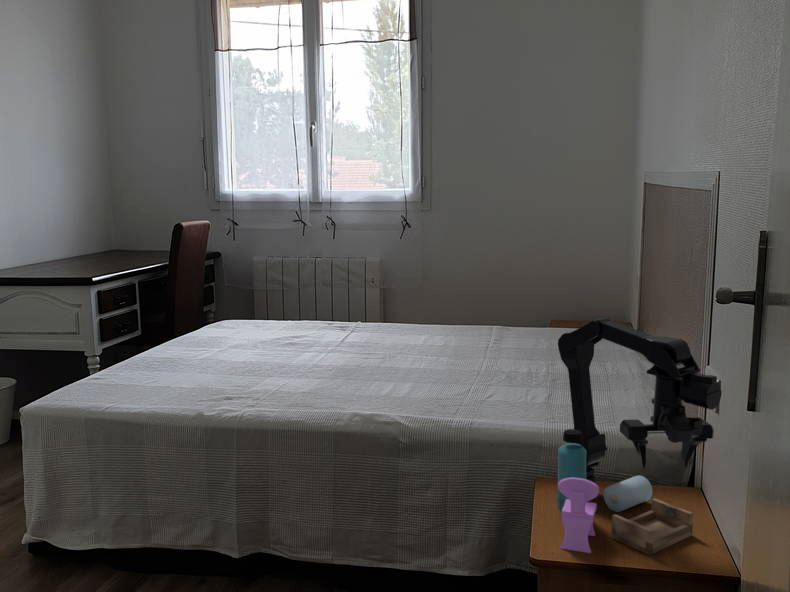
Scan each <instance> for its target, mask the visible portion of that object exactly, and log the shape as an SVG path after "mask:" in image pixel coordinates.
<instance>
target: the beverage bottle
mask: <svg viewBox="0 0 790 592" xmlns="http://www.w3.org/2000/svg"><path fill="white" fill-rule="evenodd" d="M562 435H563V437H562V441H563V442H565V443H563V444H562V445H561V446H560V447H559V448H558V450H557V452H558V458H557V460H558V461H557V462H558V464H557V465H558V467H557V484H558V483H559V481H560V480H562V479H565V478H570V477H575V478H583V479H586V478H587V477H586V472H587V471H586V454H587V451H586V449H585V448H584V447H583V446H581V445H580V444H576V443H580V442H582V434H581V432H580V431H579V430H574V428H573V429H572V428H569V429H565V430H564V431H563V433H562ZM566 499H568V498H567V497H566V496H565V495H564V494H562V493H561V492H560V491H559V489H558V488H557V510H558V512H559V513H561V514H562V509H563V507H564V504H565V501H566ZM569 500H570V499H569Z"/></svg>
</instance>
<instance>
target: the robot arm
mask: <svg viewBox="0 0 790 592" xmlns="http://www.w3.org/2000/svg"><path fill="white" fill-rule="evenodd" d="M603 339H604V340H606V341H608V342H611V343H614V344H616V345H617V346H622V347H624V348H627V349H629V350H631V351H634V352H637V353H639V354H641V355H643V356H644V357H645V359H646V360H647V361H648V362H650V363H651V364H653V365H652V367H650V368H649V369H647V370H646V374H648V375H651V376H655V381H654V382H655V384H654V397H653V398H651V403H652V404H653V413H652V416H650V422H651V423H649V424H644V423H643V421H641V420H640V419H623V420H622V421H621V422H620V423H619V432H620V433H621V434H622V435H623V436H624V437H625V439H627V440H629V441H631V442H632V444H633V446H634V448H635V449H634V450H635V451H636V454H637V457H638V459H639V460H638V461H639V463H640V466H641V467H642V468H643V469H644V468H646V464H647V445H648V444H649V441H648V440H647V439H646V438H647V437H648V434H666V437H667V439H668V441H669V442H671V443H674V444H676V443H682V444H681V465H682V466H683V467H687V466H688V464H689V461H690V459H691V457H692V455H693V453H694V451H695V450H696V448H697V447H698V446H699V445H701V444H702V443H706V442H707V441H708V439H709V440H710V439H713V438H714V434H715V433H714V432H715V429H714V428H713V426H712V424H711V423H709V422H707V421H706V420H705V419H703V418H701V417H699V416H698V417H691V416H687V414H686V405H684V404H683V403H685V404H689V405H692V406H697V407H699V408H702V409H703V408H704V409H708V410H712V411H713V410H715V409H716V408H717V407H718V405H719V404H720V402H721V399H722V398H721V397H722V390H721V389H722V388H721V384H720V383H718V377H717V376H716V375H712V374H704V373H700V372H701V369H700V368H699V365H698V364H697V362H696V360H695V358H694V356H693V355H692V353H691V349H690V347H689V343H688V342H686V340H684V339H682V338H678V337H677V338H676V337H672V336H671V337H670V336H660V335H659V336H657V335H651V334H649V333H646V332H643V331H642V330H641V331H640V330H638V329H635V328H632V327H629V326H626V325H624V324H621V323H618V322H617V321H613V320H611V319H610V318H607V317H602V318H596V319H592V320H591V321H590V322H588V323H587V324H584V325H583V326H581V327H579V328H577V329H575V330H573V331H569V332H565V333H562V335H560V337H559V338H558V339H557V346H558V351H559V356H560V360H562V361H561V362H562V363H563V364H564V366H565V367H566V368H567V371H568V381H569V391H570V392H569V393H570V400H571V401H570V402H571V409H572V410H571V411H572V420H573V429H574V430H579V431H580V432H581V434H582V442H580V443H576V444H580V445H581V446H583V447H584V448H585V449H586V451H587V454H586V471H587V472H586V477H587V478H586V480H589V481H591V482H593V483H595V484H596V476H595V469H594V468H595V467H599V465H600V462H601V461H602V460H603V459H604V458H605V456H606V451H608V447H607V445H606V444H607V443H606V438H607V437H606V435H605V433H600V432H599V430H598V428H597V427H596V423H595V422H596V421H595V414H594V413H595V412H594V411H595V410H594V403H593V402H594V401H593V391H592V382H591V374H590V372H591V371H590V368H591V367H590V366H591V364H592V362H593V359H594V354H595V345H597V344H598V343H599V342H601V341H602V340H603ZM680 366H683V367H680ZM678 367H679V368H678Z"/></svg>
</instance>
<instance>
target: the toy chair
mask: <svg viewBox="0 0 790 592" xmlns="http://www.w3.org/2000/svg"><path fill="white" fill-rule="evenodd" d="M558 489H559V491H560V492H561V493H562V494H564V495H565V496H566V497H567V498H568V499H566V501H565V504H564V507H563V509H562V513H561V516H560V517H561V523H562V525H563V528H564V538H563V540H562V542H561V544H560V547H559V548H560V549H562V550H568V551H574V552H582V553H588V554H592V550H591V547H590V542H589V536H592V537H596V532H595V529H594V528H595V527H594V524H593V523H594V518H595V513H596V512H597V505H598V504H597V502H590V501H592V500H594V499H595V498H597V497H598V495H599V493H600V487H599V486H598V484H596V482H595V483H593V482H591V481H589V480H586V479H583V478H575V477H570V478H565V479H562V480H560V481H559V483H558V482H557V490H558ZM569 499H570V500H569Z"/></svg>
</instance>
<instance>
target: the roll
mask: <svg viewBox="0 0 790 592" xmlns="http://www.w3.org/2000/svg"><path fill="white" fill-rule="evenodd" d="M652 497H653V487H652V484H651V483H650V481H649V480H648V479H647V478H646V477H645V476H643V475H635V476H632V477H630V478H626V479H624V480H621V481H619V482H616V483H614V484H610V485H608V486H607V487H605V489H604V490H603V499H604V502H605V504H606V506H607V508H608V509H610V510H611V511H612V512H613V511H614V512H616V513H620V512H623V511H625V510H628V509H630V508H632V507H635V506H637V505H639V504H642V503H645V502H647V501H650V500H651V499H652Z"/></svg>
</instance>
